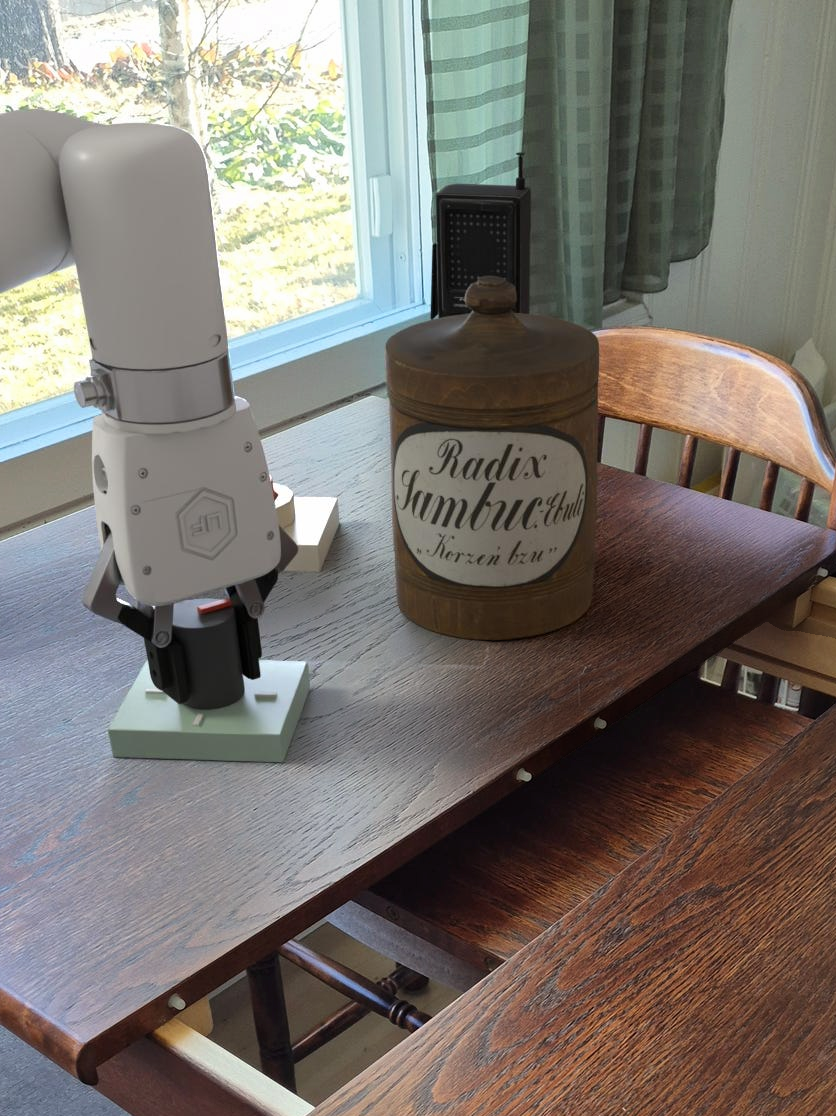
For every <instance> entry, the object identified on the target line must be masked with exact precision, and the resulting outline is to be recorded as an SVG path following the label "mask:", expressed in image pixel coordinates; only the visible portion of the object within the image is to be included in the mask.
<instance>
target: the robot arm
mask: <svg viewBox="0 0 836 1116" xmlns="http://www.w3.org/2000/svg"><path fill="white" fill-rule="evenodd" d="M207 162H208V161H207V158H206V154H205V153H204V150H203V147H202V146H201V144H200V142H199V140H197V138H196V137H195V135H193V134H192V133H190V132H189V131H187V130H186V129H183V128H181V127H178V126H175V125H171V124H167V123H166V124H165V123H156V122H155V123H154V122H123V123H110V124H104V123H99V122H97V121H91V120H87V119H84V118H80V117H78V116H74V115H70V114H66V113H63V112H59V111H54V110H53V111H52V110H48V109H41V108H22V109H15V110H11V111H7V112H3V113H0V295H2V294H4V293H6V292H9V291H11V290H13V289H16V288H18V287H20V286H22V285H25V284H27V283H30V282H31V281H33V280H36V279H38V278H42V277H45V276H49V275H51V274H54V273H56V272H60V271H63V270H66V269H69V268H70V267H73V266H75V268H76V273H77V279H78V286H79V290H80V296H81V302H82V307H83V315H84V318H85V325H86V330H87V335H88V342H89V348H90V352H91V359H88V363H89V369H90V375H89V376H86V377H85V379H84V380H79V381H75V382H74V383H73V392H74V397H75V399H76V402H77V404H78V406H79V407H80V408H81V409H82V408H83V409H84V408H90V407H93V408H95V409H98V410H100V411H101V414H98V415H95V416H94V417H93V419H92V435H91V437H92V438H91V469H92V471H91V472H92V488H93V500H94V510H95V519H96V526H97V527H96V528H97V534H98V541H99V548H100V554H99V556H98V559H97V560H96V563H95V565H94V567H93V571H92V573H91V575H90V577H89V580H88V582H87V585H86V587H85V589H84V592H83V594H82V597H81V603H82V605H83V606H84V607H85V608H86V609H88V610H89V611H90V612H91V613H93V614H94V615H97V616H99V617H102V618H104V619H107V620H109V621H112V622H113V623H118V624H120V625H122V626H125V628H127V629H129V630H130V631H132V632H133V633H135V634H137V635H138V636H140V637H142V638H143V642H144V648H145V653H146V660H147V659H148V665H149V671H150V676H151V679H152V682H153V684H154V685H155V687H156V688H158V689H159V690H162V691H163V692H164V693H165V694H167V695H168V696H169V697H170V698H172V699H173V700H174V701H175V702H177V703H178V704H182V703H185V702H187V701H188V699H189V698H190V697H189V690H188V684H187V677H186V671H185V665H184V658H183V652H182V647H181V645H180V644H179V643H178V642H177V641H175V640H174V639H173V637H172V623H173V607H174V605H175V604H176V603H180V602H183V601H187V600H190V599H194V598H195V597H199V596H203V595H207V594H209V593H213V592H217V591H220V590H223V592H224V594H225V597H226V598H227V599H229V600H230V601H231V604H232V605H231V606H232V607H233V608H234V610H235V617H236V625H237V632H238V640H239V648H240V656H241V663H242V671H243V675H244V676H245V677H247V678H248V679H251V680H254V679H257V678H260V676H261V674H260V666H259V660H260V659H261V658H262V656H263V650H262V643H261V641H262V640H261V633H260V626H259V625H260V624H259V618H261V617H262V616H263V614H264V613H265V609H266V607H265V601H266V600H267V598H268V597H269V595H270V594H271V592H272V591H273V589H274V587H275V585H276V584H277V583H278V579H279V575H280V574H281V573H282V574H283V572H285V571H284V569H285V568H286V567H287V566H288V564H289V563H290V562H291V561H292V559H293V558H294V557H295V556H296V554H297V553H298V546H297V544H296V543H295V542H294V541H293V539H292V538H291V537H290V536H289V535H288V534H287V533H286V532H285V531H284V529H283V528H282V527H281V526H280V525H279V524H278V519H277V513H276V507H275V501H274V496H273V491H272V486H271V480H270V476H269V475H270V472H269V471H270V470H269V467H268V463H267V459H266V455H265V451H264V448H263V447H264V446H263V443H262V440H261V436H260V432H259V430H258V425H257V423H256V419H255V417H254V413H253V411H252V408H251V405H250V402H249V401H248V400H247V399H246V398H245V399H244V398H242V397H240V396H237V395H236V394H235V388H234V387H235V386H234V379H233V378H234V377H233V371H232V363H231V355H230V346H229V339H228V331H227V330H228V329H227V322H226V313H225V305H224V304H225V302H224V295H223V285H222V276H221V268H220V261H219V260H220V259H219V252H218V244H217V234H216V226H215V217H214V209H213V200H212V191H211V183H210V182H211V181H210V176H209V169H208V164H207ZM120 586H125V589H126V590H127V592H128V594H129V595H130V596H131V598H133V599H134V600H133V601H134V603H133V605H132V604H131V603H129V602H127V601H126V600H124V599H119V598H118V597H117V592H118V589H119V587H120Z"/></svg>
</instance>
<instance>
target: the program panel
mask: <svg viewBox="0 0 836 1116" xmlns="http://www.w3.org/2000/svg"><path fill="white" fill-rule="evenodd" d="M259 666H260V674H261V676H260V678H257V679H254V680H251V679H248V678H247V677H245V676H244V675H243V679H244V686H245V692H244V695H243V696H242V697H241V698H240V699H239V700H238V701H236V702H235V703H233V704H230V705H228V706H224V707H220V708H214V709H197V708H192V707H188V706H186V705H184V704H178V703H177V702H175V701H174V700H173V699H172V698H170V697H169V696H168V695H167V694H165V693H164V692H163V691H162V690H159V689H158V688H156V687H155V685H154V684H153V682H152V679H151V676H150V671H149V665H148V659H147V658H146V660H145V662H144V663H143V665H142V667H141V669H140V670H139V673H138V674H137V676H136V678H135V680H134V681H133V683H132V684H131V687H130V688H129V690H128V692H127V694H126V696H125V698H124V700H123V701H122V703H121V705H120V706H119V708H118V710H117V712H116V714H115V716H114V717H113V719H112V721H111V722H110V724H109V726H108V728H107V733H108V739H109V744H110V749H111V753H112V757H114V758H129V759H131V758H133V759H159V760H160V759H162V760H163V759H165V760H192V761H193V760H195V761H223V762H224V761H225V762H226V761H227V762H254V763H255V762H258V763H284V761H285V758H286V756H287V753H288V750H289V747H290V744H291V742H292V739H293V738H294V734H295V731H296V728H297V725H298V723H299V720H300V717H301V715H302V712H303V709H304V706H305V704H306V700H307V698H308V696H309V692H310V690H311V682H310V681H311V680H310V671H309V662H308V661H302V660H301V661H298V660H267V659H266V660H265V659H259Z"/></svg>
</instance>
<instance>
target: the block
mask: <svg viewBox="0 0 836 1116" xmlns="http://www.w3.org/2000/svg"><path fill="white" fill-rule="evenodd" d="M273 487H274V497H275V507H276V513H277V519H278V524H279V525H280V526H281V527H282V528H283V529H284V531H285V532H286V533H287V534H288V535H289V536H290V537H291V538H292V539H293V541H294V542H295V543H296V544H297V546H298V553H297V554H296V556H295V557H294V558H293V559H292V561H291V562H290V563H289V564H288V566H287V567H286V568H285V569H284V571H283V572H293V573H295V572H298V573H299V572H300V573H321V571H322V568H323V566H324V563H325V560H326V559H327V556H328V553H329V551H330V548H331V546H332V544H333V541H334V538H335V536H336V533H337V530H338V528H339V526H340V523H341V522H340V512H339V511H340V510H339V499H338V497H323V496H322V497H320V496H319V497H318V496H317V497H316V496H308V497H307V496H295V493H294V492H293V491H292V490H291V489H290V488H289V487H288V486H286V485H283V484H278V483H274V482H273Z"/></svg>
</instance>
